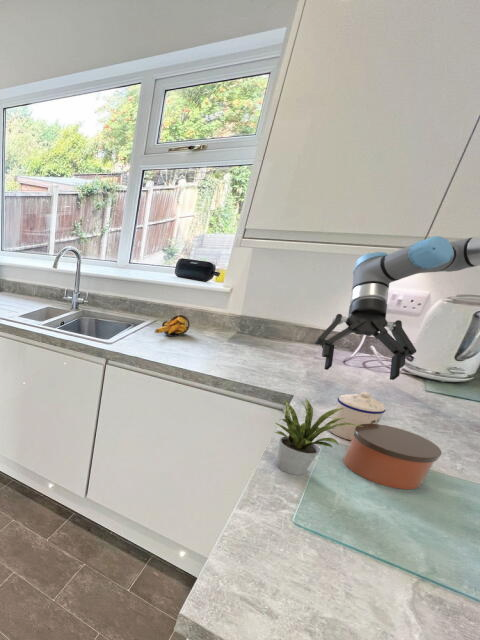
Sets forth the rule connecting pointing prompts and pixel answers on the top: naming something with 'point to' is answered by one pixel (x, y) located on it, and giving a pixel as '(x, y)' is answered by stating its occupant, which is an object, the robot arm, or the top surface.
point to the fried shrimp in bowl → (175, 326)
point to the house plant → (302, 439)
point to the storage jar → (390, 456)
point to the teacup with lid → (356, 413)
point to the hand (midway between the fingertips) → (360, 372)
